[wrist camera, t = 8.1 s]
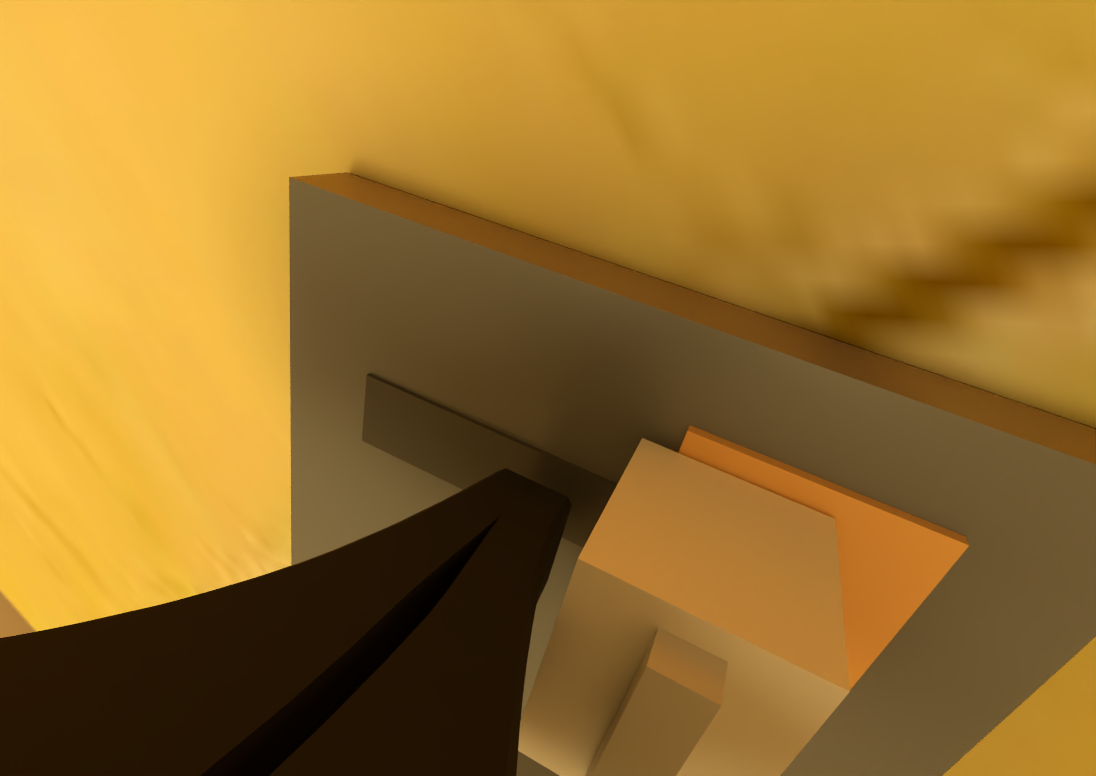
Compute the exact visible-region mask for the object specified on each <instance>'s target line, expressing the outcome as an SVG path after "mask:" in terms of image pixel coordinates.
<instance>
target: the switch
mask: <svg viewBox="0 0 1096 776" xmlns="http://www.w3.org/2000/svg"><path fill="white" fill-rule="evenodd" d="M849 692H850V687H849V675H848V663H847V652H846V640H845V628H844V616H843V604H842V592H841V580H840V568H839V556H838V544H837V532H836V520H835V518H832V517H830V516H827V515H825V514H823V513H820V512H818V511H815V510H813V509H811V508H808V507H806V506H804V505H801V504H799V503H796V502H794V501H792V500H789V499H787V498H784V497H782V496H780V495H777V494H775V493H773V492H770V491H768V490H765V489H763V488H761V487H758V486H756V485H753V484H751V483H749V482H746V481H744V480H742V479H739V478H737V477H734V476H732V475H730V474H727V473H725V472H722V471H720V470H718V469H715V468H713V467H711V466H708V465H706V464H703V463H701V462H699V461H696V460H694V459H691V458H689V457H687V456H684V455H682V454H680V453H677V452H675V451H672V450H670V449H668V448H665V447H663V446H661V445H658V444H656V443H653V442H651V441H649V440H646V439H644V438H642V439H641V441H640V443H639V445H638V447H637V449H636V451H635V453H634V454H633V456H632V458H631V460H630V462H629V464H628V466H627V467H626V469H625V471H624V473H623V475H622V477H621V479H620V481H619V482H618V484H617V486H616V488H615V490H614V492H613V494H612V496H611V497H610V499H609V501H608V503H607V505H606V507H605V509H604V510H603V512H602V514H601V516H600V518H599V520H598V522H597V524H596V525H595V527H594V529H593V531H592V533H591V535H590V537H589V538H588V540H587V542H586V544H585V546H584V548H583V550H582V552H581V553H580V555H579V557H578V559H577V562H576V565H575V568H574V571H573V574H572V577H571V579H570V582H569V585H568V588H567V591H566V594H565V596H564V599H563V602H562V605H561V608H560V611H559V614H558V616H557V619H556V622H555V625H554V628H553V631H552V633H551V636H550V639H549V642H548V645H547V648H546V651H545V653H544V656H543V659H542V662H541V665H540V668H539V671H538V673H537V676H536V679H535V682H534V685H533V688H532V690H531V693H530V696H529V699H528V702H527V705H526V708H525V710H524V713H523V716H522V719H521V722H520V732H519V746H518V751H519V752H521V753H523V754H524V755H526V756H528V757H529V758H531V759H533V760H534V761H536V762H538V763H539V764H541V765H543V766H544V767H546V768H548V769H549V770H551V771H553V772H554V773H556V774H558V775H559V776H781V774H782V773H783V772H784V771H785V770H786V768H787V767H788V766H789V765H790V763H791V762H792V761H793V760H794V759H795V757H796V756H797V755H798V754H799V753H800V751H801V750H802V749H803V748H804V747H805V745H806V744H807V743H808V742H809V741H810V739H811V738H812V737H813V736H814V734H815V733H816V732H817V731H818V730H819V728H820V727H821V726H822V725H823V724H824V722H825V721H826V720H827V719H828V718H829V716H830V715H831V714H832V713H833V712H834V710H835V709H836V708H837V707H838V705H839V704H840V703H841V702H842V701H843V699H844V698H845V697H846V696H847V695H848V693H849Z"/></svg>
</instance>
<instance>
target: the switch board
mask: <svg viewBox="0 0 1096 776" xmlns="http://www.w3.org/2000/svg"><path fill="white" fill-rule="evenodd" d="M289 201H290V377H291V553H292V565H295V564H297V563H300V562H303V561H306V560H308V559H311V558H314V557H316V556H319V555H322V554H324V553H327V552H330V551H332V550H335V549H337V548H340V547H342V546H344V545H347V544H349V543H351V542H354V541H356V540H358V539H361V538H363V537H366V536H368V535H370V534H373V533H375V532H377V531H380V530H382V529H384V528H387V527H389V526H391V525H393V524H395V523H398V522H400V521H402V520H404V519H406V518H408V517H410V516H412V515H414V514H416V513H418V512H420V511H422V510H424V509H426V508H429V507H431V506H433V505H435V504H437V503H439V502H441V501H443V500H445V499H446V498H448V497H450V496H452V495H454V494H456V493H458V492H460V491H462V490H464V489H466V488H467V487H469V486H471V485H473V484H475V483H477V482H479V481H480V480H482V479H484V478H486V477H488V476H490V475H492V474H493V473H495V472H497V471H499V470H502V469H505V468H507V469H509V470H511V471H513V472H515V473H517V474H520V475H522V476H524V477H526V478H528V479H530V480H533V481H535V482H537V483H539V484H541V485H543V486H546V487H548V488H550V489H552V490H554V491H556V492H559V493H561V494H563V495H565V496H567V497H568V498H569V500H570V502H571V504H572V507H571V510H570V513H569V516H568V519H567V522H566V525H565V528H564V532H563V535H562V538H561V541H560V544H559V547H558V550H557V553H556V557H555V560H554V563H553V566H552V569H551V572H550V575H549V578H548V581H547V583H546V586H545V588H544V590H543V592H542V594H541V596H540V598H539V600H538V603H537V605H536V610H535V616H534V621H533V626H532V633H531V639H530V646H529V652H528V659H527V667H526V674H525V683H524V691H523V701H522V711H521V719H522V716H523V713H524V710H525V708H526V705H527V702H528V699H529V696H530V693H531V690H532V688H533V685H534V682H535V679H536V676H537V673H538V671H539V668H540V665H541V662H542V659H543V656H544V653H545V651H546V648H547V645H548V642H549V639H550V636H551V633H552V631H553V628H554V625H555V622H556V619H557V616H558V614H559V611H560V608H561V605H562V602H563V599H564V596H565V594H566V591H567V588H568V585H569V582H570V579H571V577H572V574H573V571H574V568H575V565H576V562H577V559H578V557H579V555H580V553H581V552H582V550H583V548H584V546H585V544H586V542H587V540H588V538H589V537H590V535H591V533H592V531H593V529H594V527H595V525H596V524H597V522H598V520H599V518H600V516H601V514H602V512H603V510H604V509H605V507H606V505H607V503H608V501H609V499H610V497H611V496H612V494H613V492H614V490H615V488H616V486H617V484H618V482H619V481H620V479H621V477H622V475H623V473H624V471H625V469H626V467H627V466H628V464H629V462H630V460H631V458H632V456H633V454H634V453H635V451H636V449H637V447H638V445H639V443H640V441H641V439H642V438H644V439H646V440H649V441H651V442H653V443H656V444H658V445H661V446H663V447H665V448H668V449H670V450H672V451H675V452H677V453H680V454H682V455H684V456H687V457H689V458H691V459H694V460H696V461H699V462H701V463H703V464H706V465H708V466H711V467H713V468H715V469H718V470H720V471H722V472H725V473H727V474H730V475H732V476H734V477H737V478H739V479H742V480H744V481H746V482H749V483H751V484H753V485H756V486H758V487H761V488H763V489H765V490H768V491H770V492H773V493H775V494H777V495H780V496H782V497H784V498H787V499H789V500H792V501H794V502H796V503H799V504H801V505H804V506H806V507H808V508H811V509H813V510H815V511H818V512H820V513H823V514H825V515H827V516H830V517H832V518H835V520H836V532H837V544H838V556H839V568H840V580H841V592H842V604H843V616H844V628H845V640H846V652H847V663H848V675H849V687H850V692H849V693H848V695H847V696H846V697H845V698H844V699H843V701H842V702H841V703H840V704H839V705H838V707H837V708H836V709H835V710H834V712H833V713H832V714H831V715H830V716H829V718H828V719H827V720H826V721H825V722H824V724H823V725H822V726H821V727H820V728H819V730H818V731H817V732H816V733H815V734H814V736H813V737H812V738H811V739H810V741H809V742H808V743H807V744H806V745H805V747H804V748H803V749H802V750H801V751H800V753H799V754H798V755H797V756H796V757H795V759H794V760H793V761H792V762H791V763H790V765H789V766H788V767H787V768H786V770H785V771H784V772H783V773H782V774H781V776H942V775H943V774H944V773H945V772H946V771H948V770H949V769H950V768H951V767H952V766H953V765H954V764H955V763H956V762H958V761H959V760H960V759H961V758H962V757H963V756H964V755H965V754H966V753H967V752H969V751H970V750H971V749H972V748H973V747H974V746H975V745H976V744H977V743H978V742H980V741H981V740H982V739H983V738H984V737H985V736H986V735H987V734H988V733H990V732H991V731H992V730H993V729H994V728H995V727H996V726H997V725H998V724H999V723H1001V722H1002V721H1003V720H1004V719H1005V718H1006V717H1007V716H1008V715H1009V714H1010V713H1012V712H1013V711H1014V710H1015V709H1016V708H1017V707H1018V706H1019V705H1020V704H1022V703H1023V702H1024V701H1025V700H1026V699H1027V698H1028V697H1029V696H1030V695H1031V694H1033V693H1034V692H1035V691H1036V690H1037V689H1038V688H1039V687H1040V686H1041V685H1042V684H1044V683H1045V682H1046V681H1047V680H1048V679H1049V678H1050V677H1051V676H1052V675H1054V674H1055V673H1056V672H1057V671H1058V670H1059V669H1060V668H1061V667H1062V666H1063V665H1065V664H1066V663H1067V662H1068V661H1069V660H1070V659H1071V658H1072V657H1073V656H1074V655H1076V654H1077V653H1078V652H1079V651H1080V650H1081V649H1082V648H1083V647H1084V646H1086V645H1087V644H1088V643H1089V642H1090V641H1091V640H1092V639H1093V638H1094V637H1095V636H1096V429H1094V428H1091V427H1088V426H1086V425H1083V424H1080V423H1077V422H1074V421H1071V420H1068V419H1065V418H1062V417H1059V416H1056V415H1053V414H1051V413H1048V412H1045V411H1042V410H1039V409H1036V408H1033V407H1030V406H1027V405H1024V404H1021V403H1018V402H1016V401H1013V400H1010V399H1007V398H1004V397H1001V396H998V395H995V394H992V393H989V392H986V391H983V390H980V389H978V388H975V387H972V386H969V385H966V384H963V383H960V382H957V381H954V380H951V379H948V378H945V377H943V376H940V375H937V374H934V373H931V372H928V371H925V370H922V369H919V368H916V367H913V366H910V365H908V364H905V363H902V362H899V361H896V360H893V359H890V358H887V357H884V356H881V355H878V354H875V353H872V352H870V351H867V350H864V349H861V348H858V347H855V346H852V345H849V344H846V343H843V342H840V341H837V340H835V339H832V338H829V337H826V336H823V335H820V334H817V333H814V332H811V331H808V330H805V329H802V328H799V327H797V326H794V325H791V324H788V323H785V322H782V321H779V320H776V319H773V318H770V317H767V316H764V315H762V314H759V313H756V312H753V311H750V310H747V309H744V308H741V307H738V306H735V305H732V304H729V303H727V302H724V301H721V300H718V299H715V298H712V297H709V296H706V295H703V294H700V293H697V292H694V291H691V290H689V289H686V288H683V287H680V286H677V285H674V284H671V283H668V282H665V281H662V280H659V279H656V278H654V277H651V276H648V275H645V274H642V273H639V272H636V271H633V270H630V269H627V268H624V267H621V266H619V265H616V264H613V263H610V262H607V261H604V260H601V259H598V258H595V257H592V256H589V255H586V254H583V253H581V252H578V251H575V250H572V249H569V248H566V247H563V246H560V245H557V244H554V243H551V242H548V241H546V240H543V239H540V238H537V237H534V236H531V235H528V234H525V233H522V232H519V231H516V230H513V229H510V228H508V227H505V226H502V225H499V224H496V223H493V222H490V221H487V220H484V219H481V218H478V217H475V216H473V215H470V214H467V213H464V212H461V211H458V210H455V209H452V208H449V207H446V206H443V205H440V204H438V203H435V202H432V201H429V200H426V199H423V198H420V197H417V196H414V195H411V194H408V193H405V192H402V191H400V190H397V189H394V188H391V187H388V186H385V185H382V184H379V183H376V182H373V181H370V180H367V179H365V178H362V177H359V176H356V175H353V174H350V173H337V174H325V175H312V176H299V177H289ZM516 776H559V775H558V774H556V773H554V772H553V771H551V770H549V769H548V768H546V767H544V766H543V765H541V764H539V763H538V762H536V761H534V760H533V759H531V758H529V757H528V756H526V755H524V754H523V753H521V752H519V751H518V760H517V774H516Z"/></svg>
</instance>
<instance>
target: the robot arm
mask: <svg viewBox="0 0 1096 776" xmlns="http://www.w3.org/2000/svg"><path fill="white" fill-rule="evenodd" d="M571 507H572V504H571V502H570V500H569V498H568V497H567V496H565V495H563V494H561V493H559V492H556V491H554V490H552V489H550V488H548V487H546V486H543V485H541V484H539V483H537V482H535V481H533V480H530V479H528V478H526V477H524V476H522V475H520V474H517V473H515V472H513V471H511V470H509V469H507V468H505V469H502V470H499V471H497V472H495V473H493V474H492V475H490V476H488V477H486V478H484V479H482V480H480V481H479V482H477V483H475V484H473V485H471V486H469V487H467V488H466V489H464V490H462V491H460V492H458V493H456V494H454V495H452V496H450V497H448V498H446V499H445V500H443V501H441V502H439V503H437V504H435V505H433V506H431V507H429V508H426V509H424V510H422V511H420V512H418V513H416V514H414V515H412V516H410V517H408V518H406V519H404V520H402V521H400V522H398V523H395V524H393V525H391V526H389V527H387V528H384V529H382V530H380V531H377V532H375V533H373V534H370V535H368V536H366V537H363V538H361V539H358V540H356V541H354V542H351V543H349V544H347V545H344V546H342V547H340V548H337V549H335V550H332V551H330V552H327V553H324V554H322V555H319V556H316V557H314V558H311V559H308V560H306V561H303V562H300V563H297V564H295V565H292V566H289V567H286V568H283V569H280V570H277V571H274V572H271V573H268V574H265V575H262V576H259V577H256V578H253V579H249V580H246V581H243V582H239V583H236V584H233V585H229V586H226V587H222V588H219V589H216V590H212V591H209V592H206V593H202V594H198V595H195V596H191V597H187V598H184V599H180V600H177V601H173V602H169V603H165V604H161V605H157V606H153V607H148V608H144V609H139V610H135V611H130V612H126V613H122V614H117V615H113V616H108V617H104V618H100V619H95V620H91V621H86V622H82V623H77V624H73V625H68V626H63V627H58V628H53V629H48V630H43V631H38V632H32V633H27V634H22V635H16V636H11V637H4V638H0V776H516V774H517V760H518V746H519V732H520V722H521V711H522V701H523V691H524V683H525V674H526V667H527V659H528V652H529V646H530V639H531V633H532V626H533V621H534V616H535V610H536V605H537V603H538V600H539V598H540V596H541V594H542V592H543V590H544V588H545V586H546V583H547V581H548V578H549V575H550V572H551V569H552V566H553V563H554V560H555V557H556V553H557V550H558V547H559V544H560V541H561V538H562V535H563V532H564V528H565V525H566V522H567V519H568V516H569V513H570V510H571Z"/></svg>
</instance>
